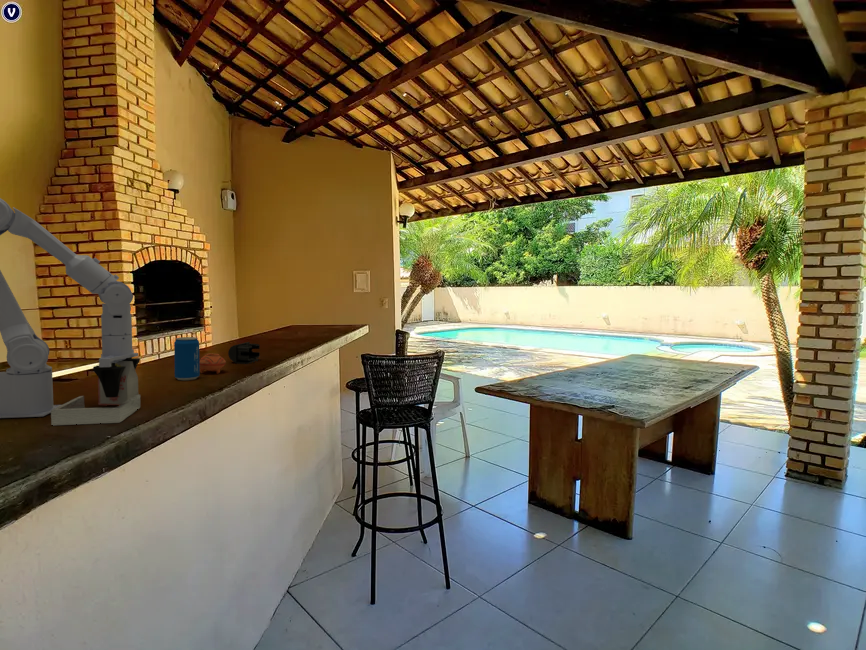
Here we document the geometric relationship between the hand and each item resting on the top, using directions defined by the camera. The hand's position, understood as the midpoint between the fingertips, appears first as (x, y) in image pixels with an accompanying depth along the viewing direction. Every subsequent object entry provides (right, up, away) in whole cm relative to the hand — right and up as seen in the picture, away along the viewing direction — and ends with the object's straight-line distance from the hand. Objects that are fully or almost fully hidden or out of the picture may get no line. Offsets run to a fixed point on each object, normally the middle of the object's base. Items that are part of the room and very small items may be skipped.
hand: (118, 393), depth 106 cm
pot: (+3, 0, +39) cm, 39 cm away
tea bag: (0, -3, 0) cm, 3 cm away
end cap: (+4, +2, +61) cm, 61 cm away
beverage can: (0, 0, +29) cm, 29 cm away
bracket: (+3, -3, -9) cm, 10 cm away
